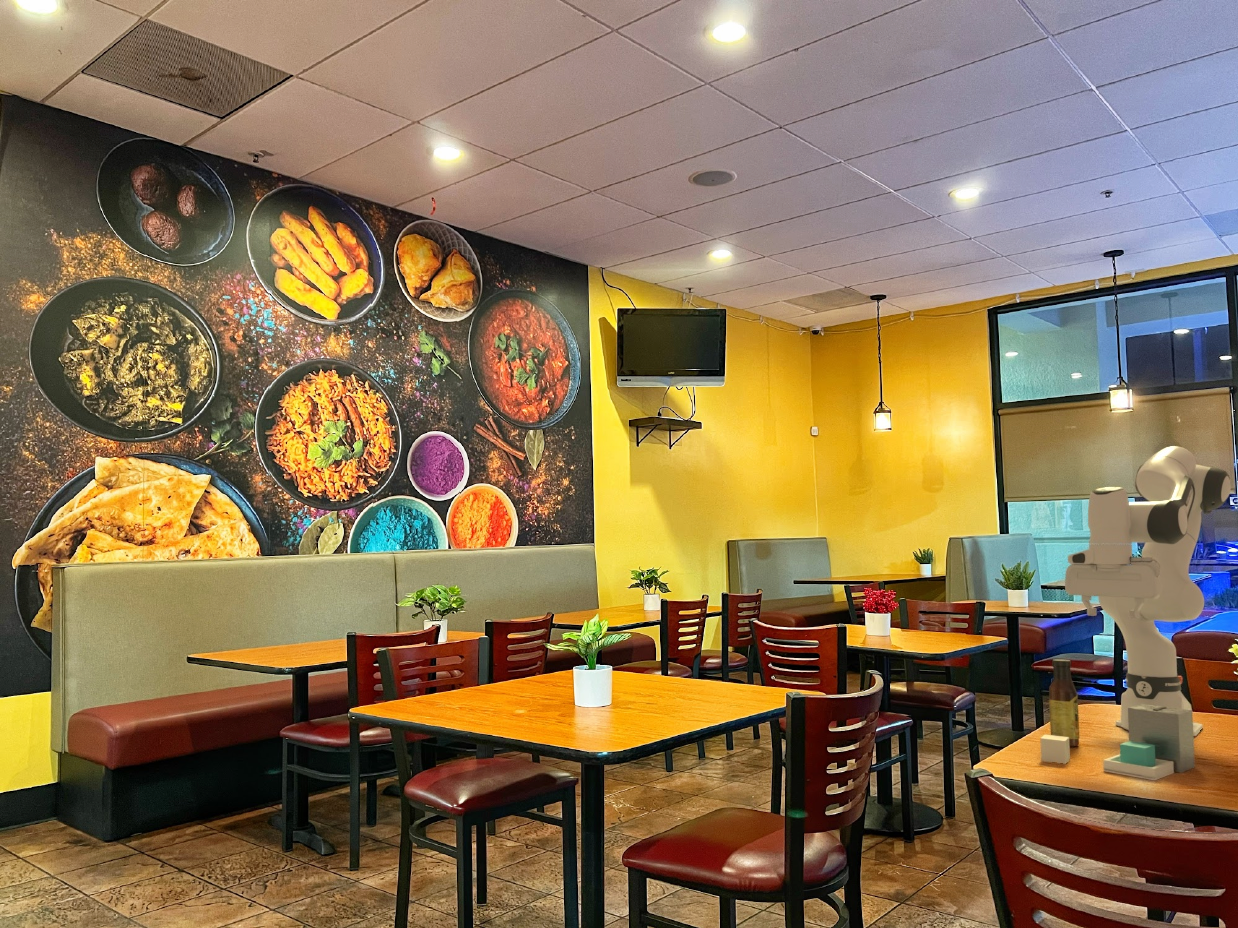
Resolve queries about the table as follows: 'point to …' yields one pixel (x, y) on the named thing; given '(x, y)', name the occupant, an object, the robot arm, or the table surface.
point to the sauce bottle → (1064, 703)
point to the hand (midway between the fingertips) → (1113, 616)
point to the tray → (1138, 768)
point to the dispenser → (1164, 733)
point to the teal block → (1137, 754)
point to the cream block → (1055, 749)
